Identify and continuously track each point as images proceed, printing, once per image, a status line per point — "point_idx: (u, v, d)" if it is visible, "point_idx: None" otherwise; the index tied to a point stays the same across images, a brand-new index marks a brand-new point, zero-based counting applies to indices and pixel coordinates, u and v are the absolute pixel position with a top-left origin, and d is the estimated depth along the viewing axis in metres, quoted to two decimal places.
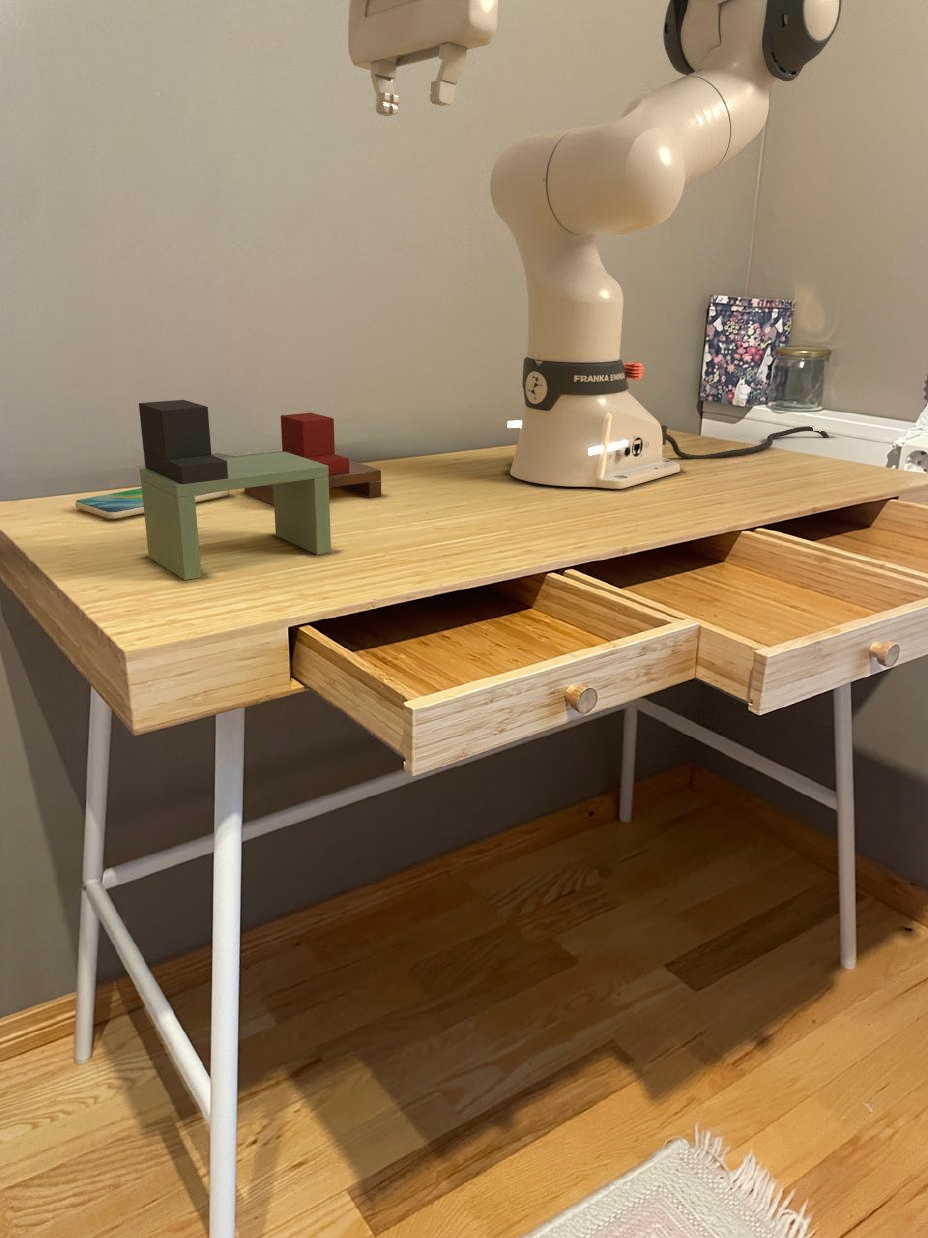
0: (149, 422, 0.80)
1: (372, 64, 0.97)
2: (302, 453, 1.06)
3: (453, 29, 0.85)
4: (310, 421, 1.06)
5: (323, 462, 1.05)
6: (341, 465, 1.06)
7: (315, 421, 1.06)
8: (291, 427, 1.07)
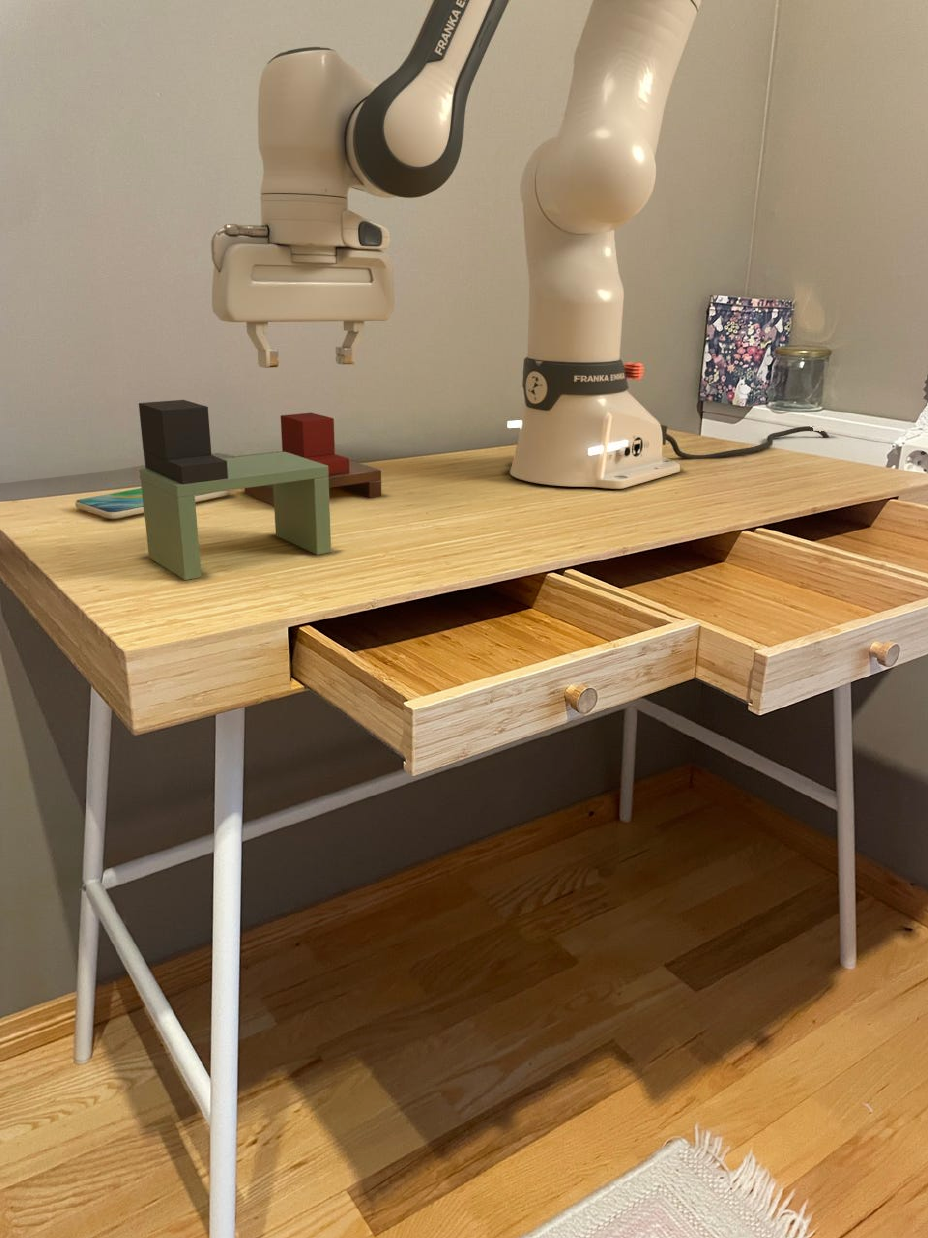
0: (149, 422, 0.80)
1: None
2: (302, 453, 1.06)
3: None
4: (310, 421, 1.06)
5: (323, 462, 1.05)
6: (341, 465, 1.06)
7: (315, 421, 1.06)
8: (291, 427, 1.07)
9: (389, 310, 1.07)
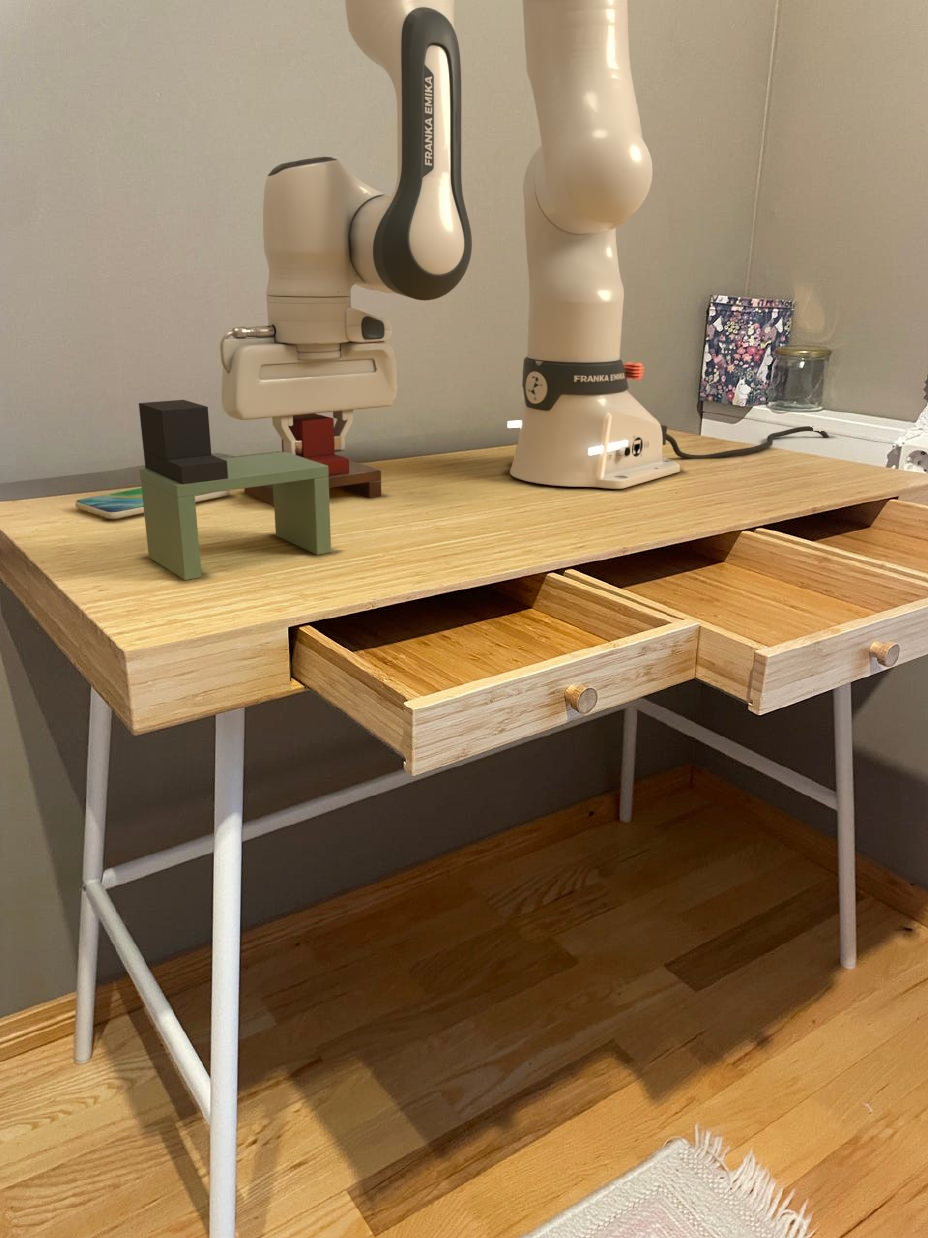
0: (149, 422, 0.80)
1: None
2: None
3: None
4: (310, 421, 1.05)
5: (323, 462, 1.05)
6: (341, 465, 1.06)
7: (315, 421, 1.06)
8: (291, 427, 1.07)
9: (392, 396, 1.10)
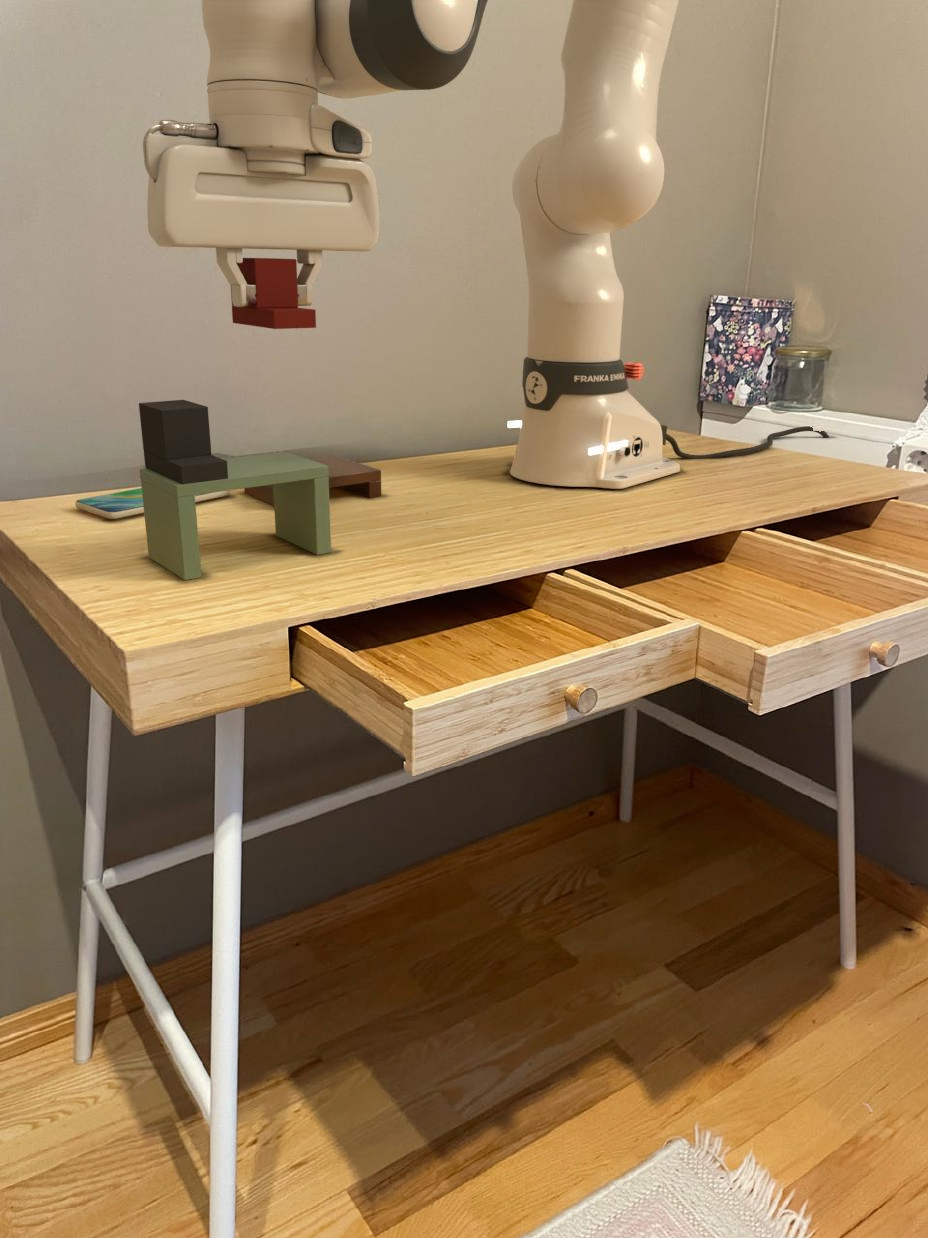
0: (149, 422, 0.80)
1: None
2: None
3: None
4: (265, 260, 0.82)
5: (281, 311, 0.81)
6: (305, 317, 0.82)
7: (272, 260, 0.82)
8: (241, 270, 0.83)
9: (373, 237, 0.86)
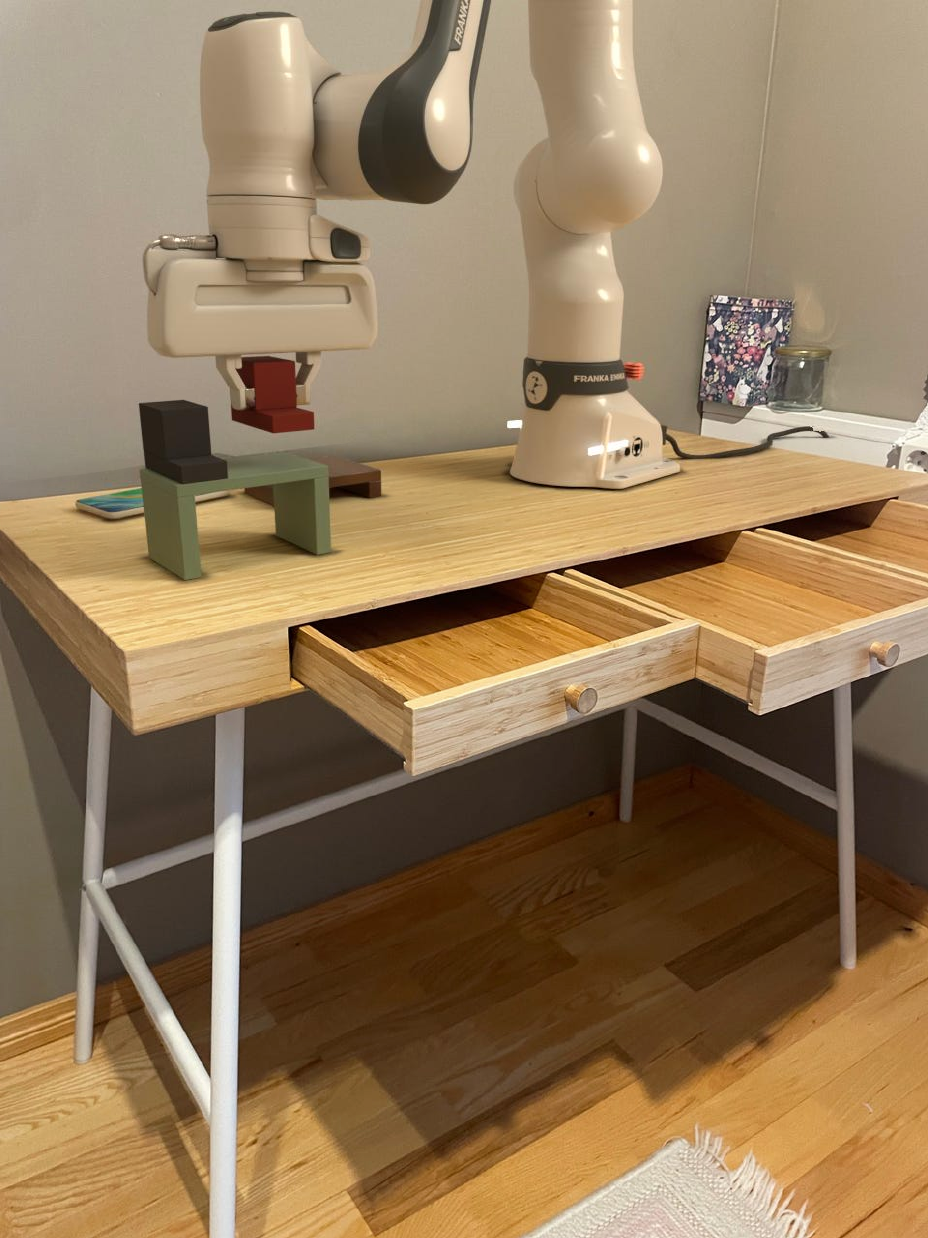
0: (149, 422, 0.80)
1: None
2: None
3: None
4: (264, 363, 0.82)
5: (280, 416, 0.81)
6: (303, 420, 0.83)
7: (270, 364, 0.83)
8: (240, 371, 0.84)
9: (372, 336, 0.87)
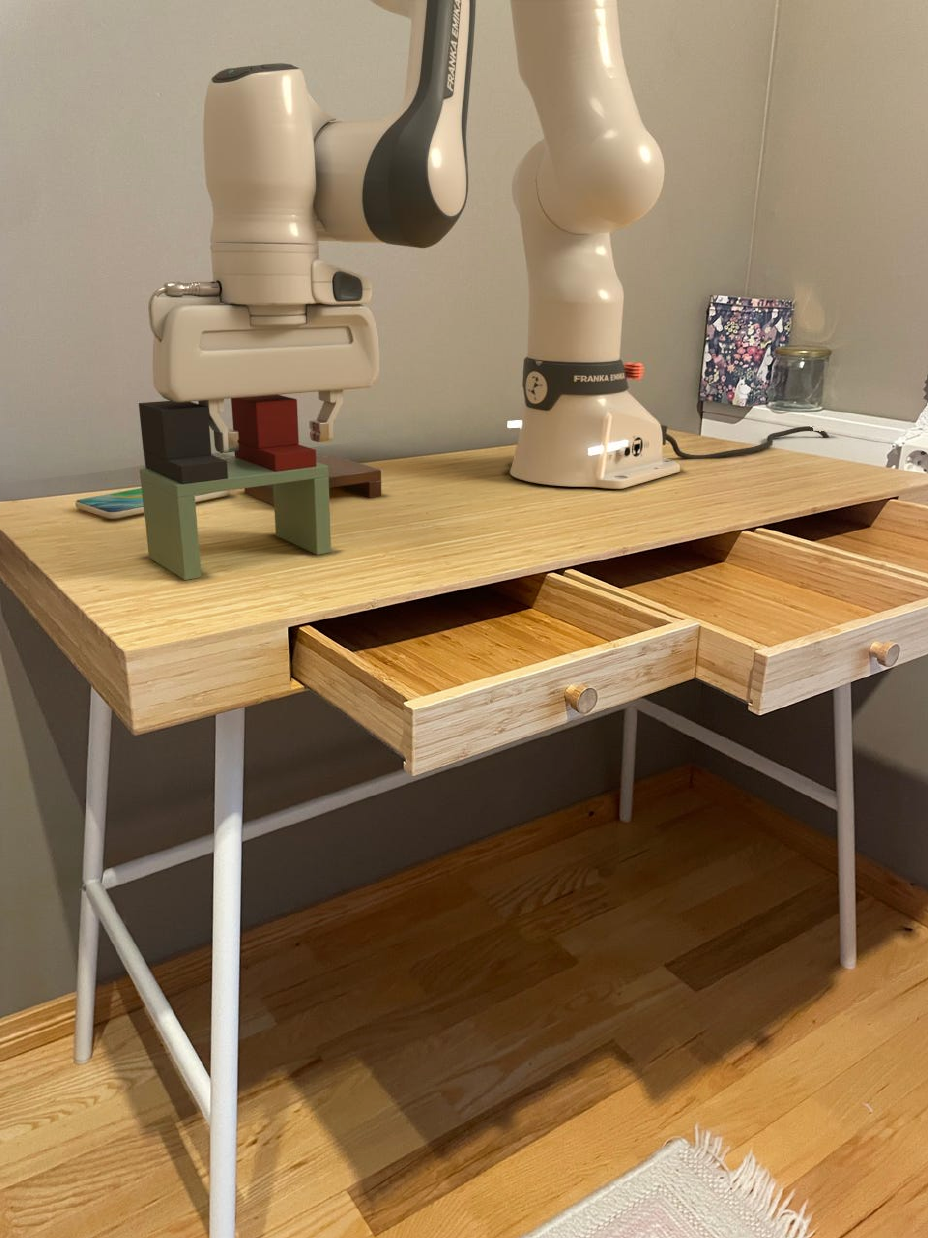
0: (149, 422, 0.80)
1: None
2: (256, 443, 0.84)
3: None
4: (266, 402, 0.84)
5: (282, 454, 0.83)
6: (305, 458, 0.84)
7: (273, 403, 0.84)
8: (243, 410, 0.85)
9: (374, 375, 0.88)
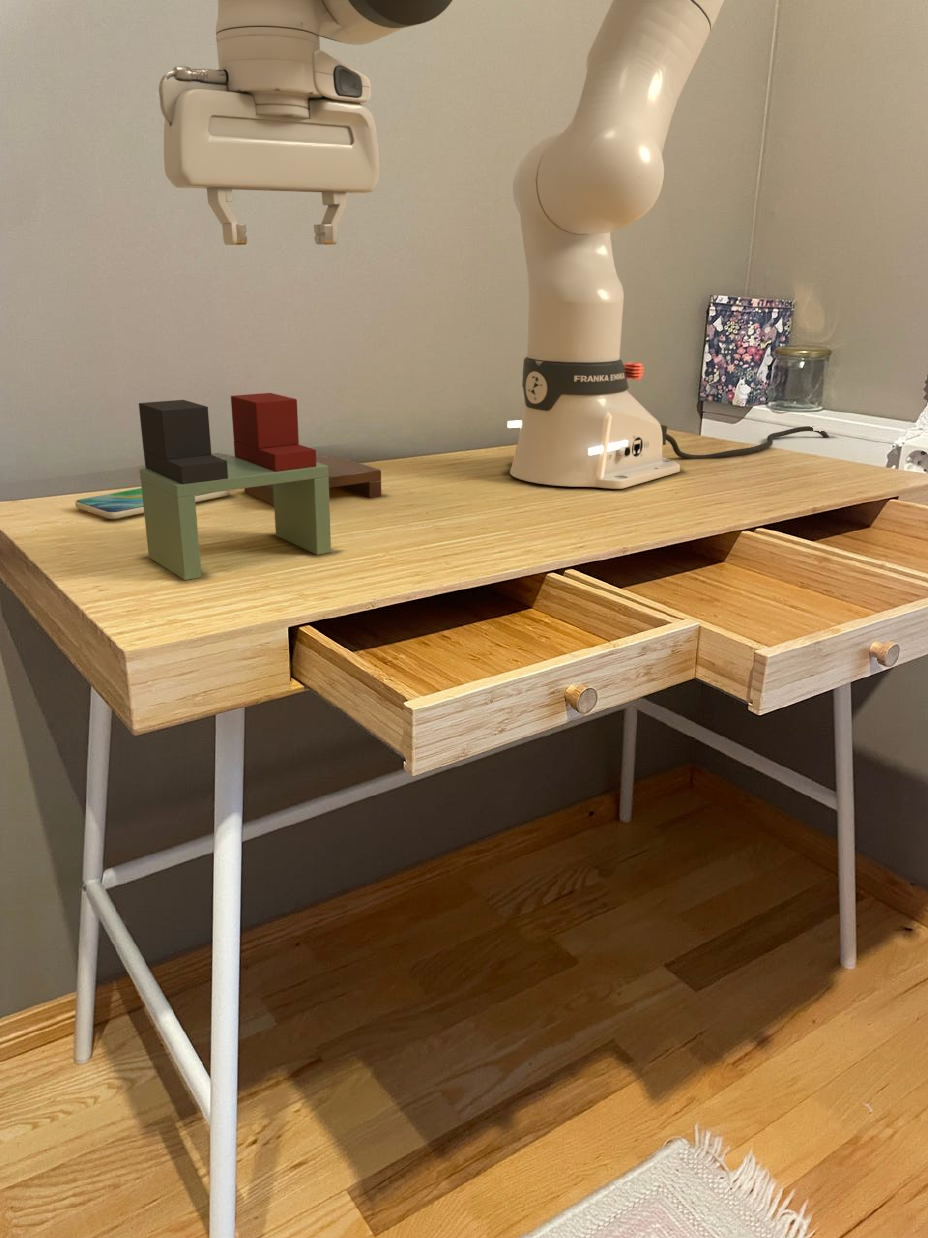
0: (149, 422, 0.80)
1: None
2: (256, 443, 0.84)
3: None
4: (266, 402, 0.84)
5: (282, 454, 0.83)
6: (305, 458, 0.84)
7: (273, 403, 0.84)
8: (243, 410, 0.85)
9: (374, 178, 0.92)
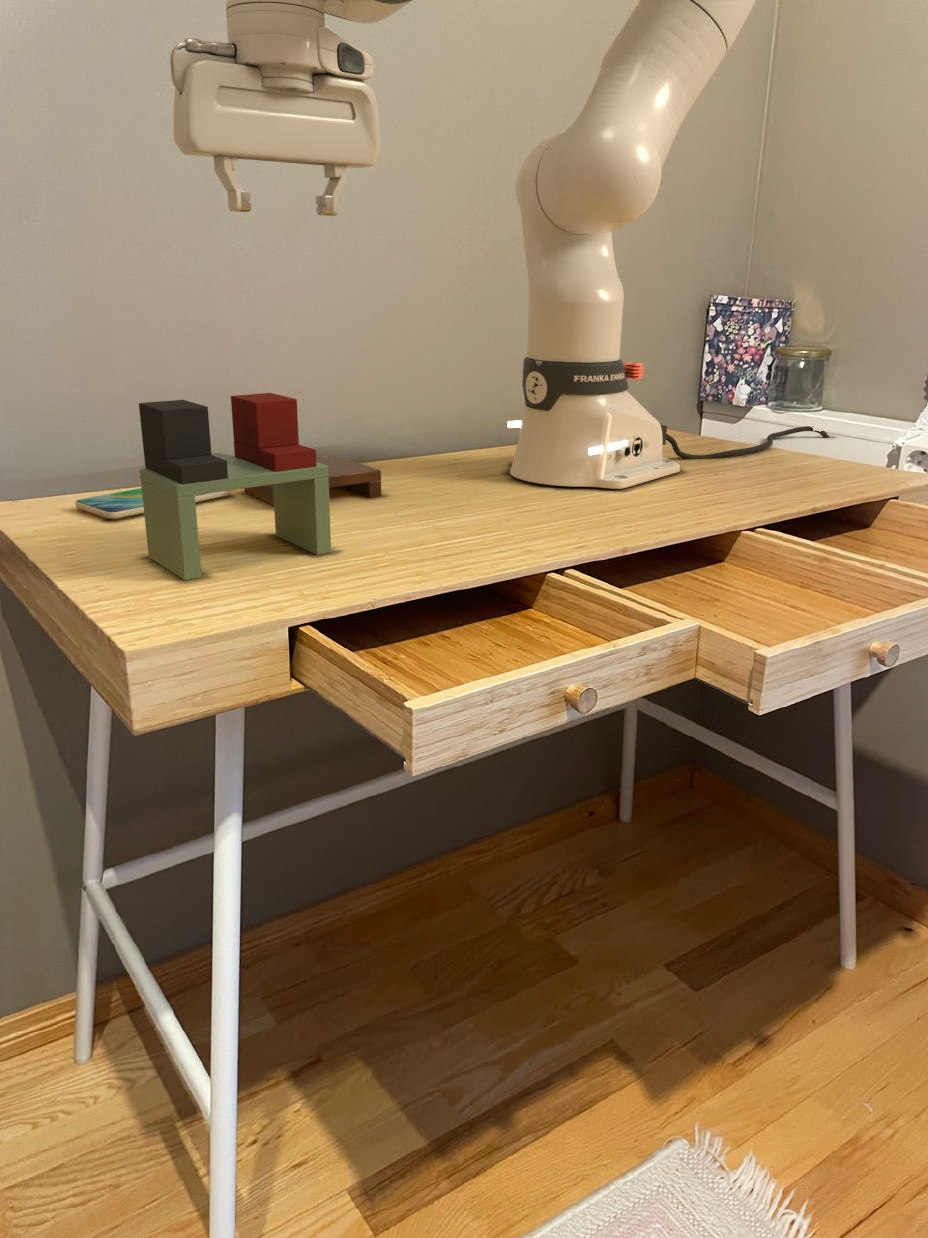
0: (149, 422, 0.80)
1: None
2: (256, 443, 0.84)
3: None
4: (266, 402, 0.84)
5: (282, 454, 0.83)
6: (305, 458, 0.84)
7: (273, 403, 0.84)
8: (243, 410, 0.85)
9: (374, 153, 0.96)
